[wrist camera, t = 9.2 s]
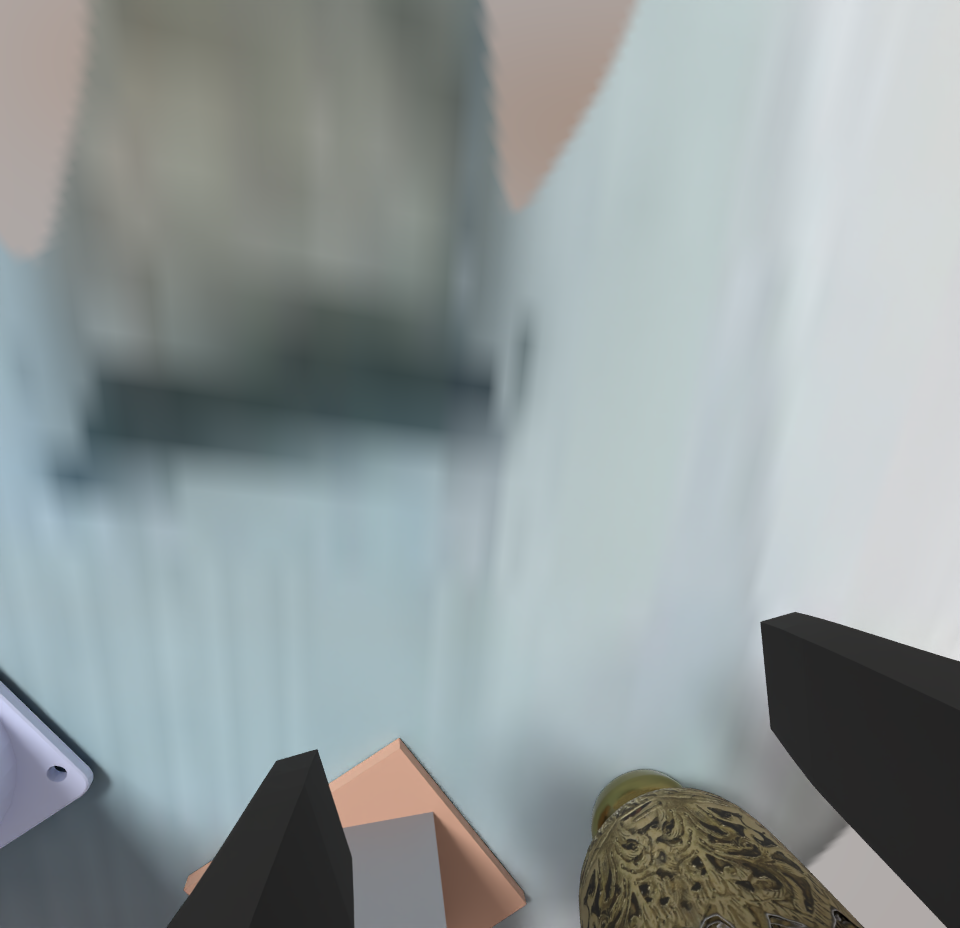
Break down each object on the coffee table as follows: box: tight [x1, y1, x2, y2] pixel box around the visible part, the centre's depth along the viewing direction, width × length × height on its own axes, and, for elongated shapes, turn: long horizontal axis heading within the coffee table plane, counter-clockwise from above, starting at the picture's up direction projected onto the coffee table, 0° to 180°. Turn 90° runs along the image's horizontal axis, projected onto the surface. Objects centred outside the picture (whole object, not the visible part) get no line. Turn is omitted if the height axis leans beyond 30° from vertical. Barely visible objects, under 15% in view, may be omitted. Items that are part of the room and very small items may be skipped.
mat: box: [184, 738, 526, 928], centre depth 20 cm, size 8×8×1 cm
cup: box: [579, 769, 864, 928], centre depth 18 cm, size 8×7×8 cm
